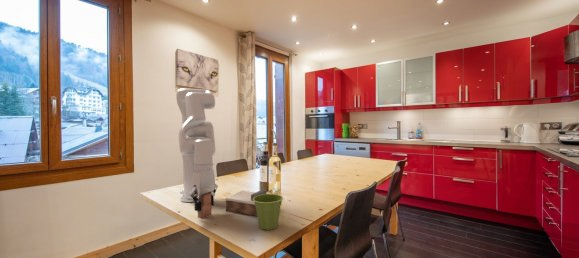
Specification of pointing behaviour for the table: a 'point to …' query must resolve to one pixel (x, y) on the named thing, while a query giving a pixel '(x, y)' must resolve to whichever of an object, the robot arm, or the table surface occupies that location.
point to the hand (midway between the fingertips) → (204, 207)
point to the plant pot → (268, 210)
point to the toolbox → (241, 208)
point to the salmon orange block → (205, 206)
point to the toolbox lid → (245, 196)
